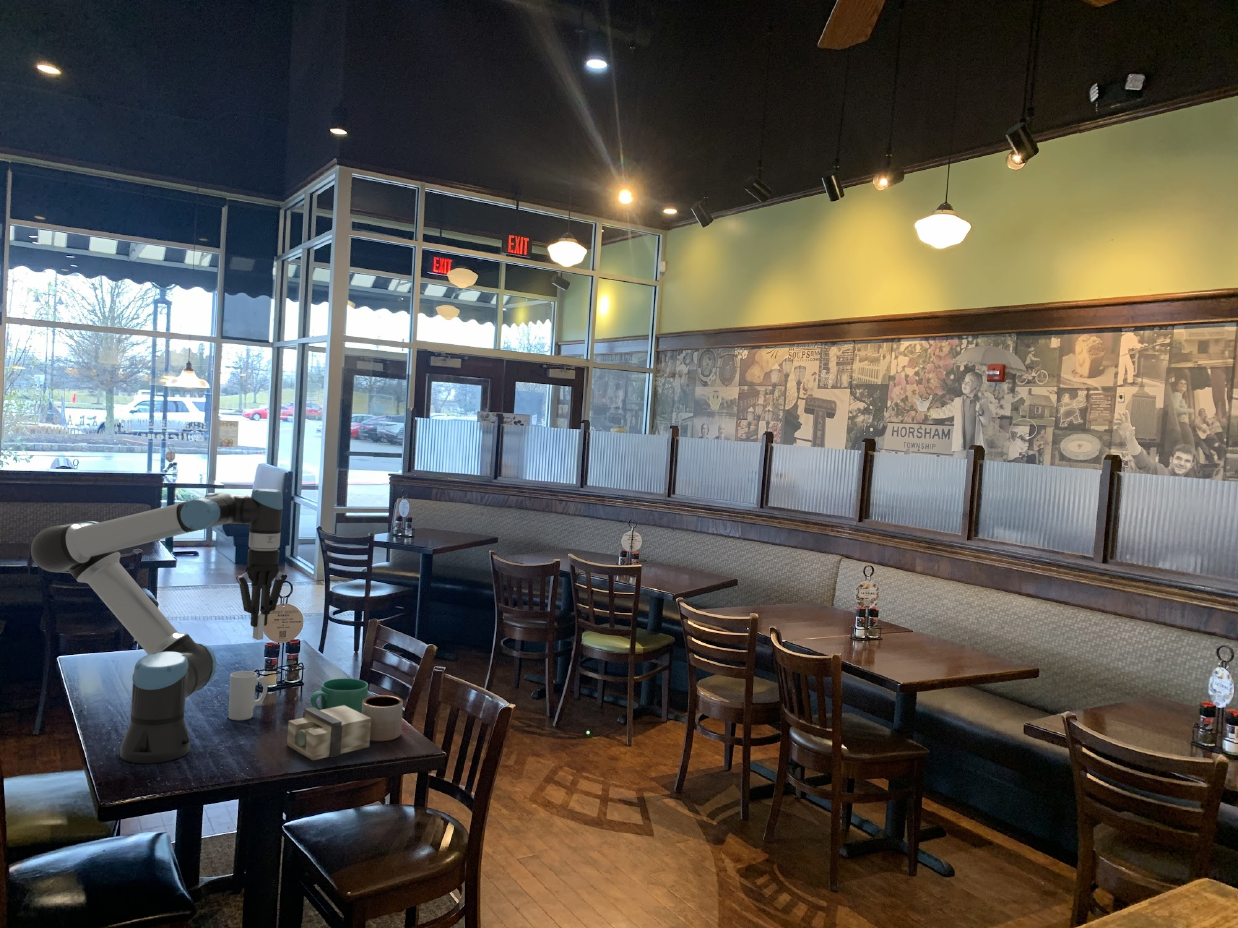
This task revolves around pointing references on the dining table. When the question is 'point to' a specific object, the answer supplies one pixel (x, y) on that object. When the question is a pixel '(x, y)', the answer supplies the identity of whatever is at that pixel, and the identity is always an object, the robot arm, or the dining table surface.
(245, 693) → the mug
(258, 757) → the dining table surface
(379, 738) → the planter
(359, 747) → the sleeve block
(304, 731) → the dowel
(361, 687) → the mug
